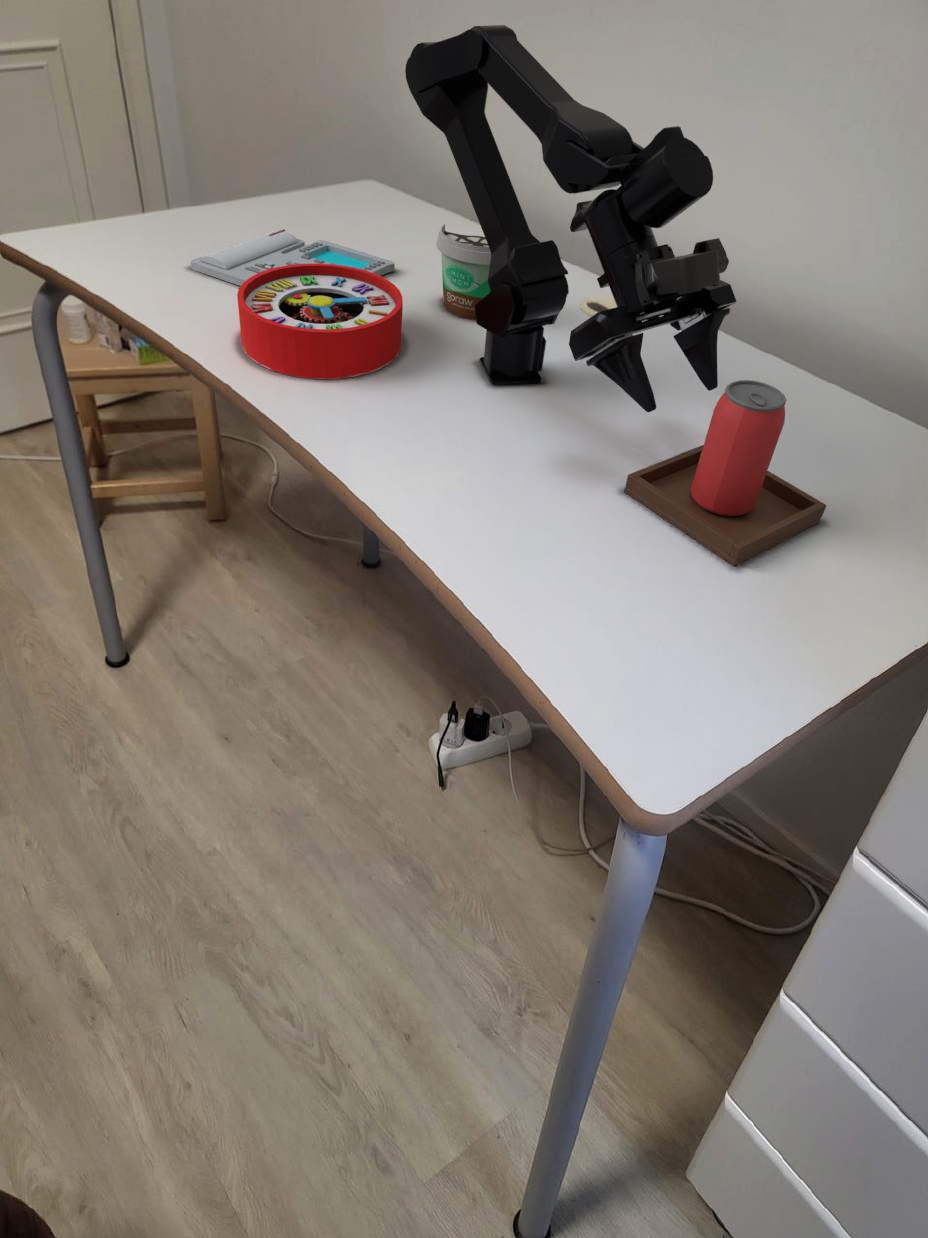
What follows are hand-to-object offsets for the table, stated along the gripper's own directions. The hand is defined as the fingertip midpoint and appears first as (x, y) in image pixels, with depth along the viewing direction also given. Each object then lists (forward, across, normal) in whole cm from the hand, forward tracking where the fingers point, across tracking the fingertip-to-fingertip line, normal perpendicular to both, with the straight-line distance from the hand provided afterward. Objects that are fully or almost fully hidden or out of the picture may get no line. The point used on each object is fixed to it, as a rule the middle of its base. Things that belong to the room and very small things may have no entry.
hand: (683, 399), depth 89 cm
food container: (-24, +6, +37) cm, 44 cm away
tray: (+12, 0, 0) cm, 12 cm away
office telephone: (-41, -7, +54) cm, 68 cm away
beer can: (+11, 0, 0) cm, 11 cm away
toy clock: (-25, -16, +38) cm, 48 cm away
